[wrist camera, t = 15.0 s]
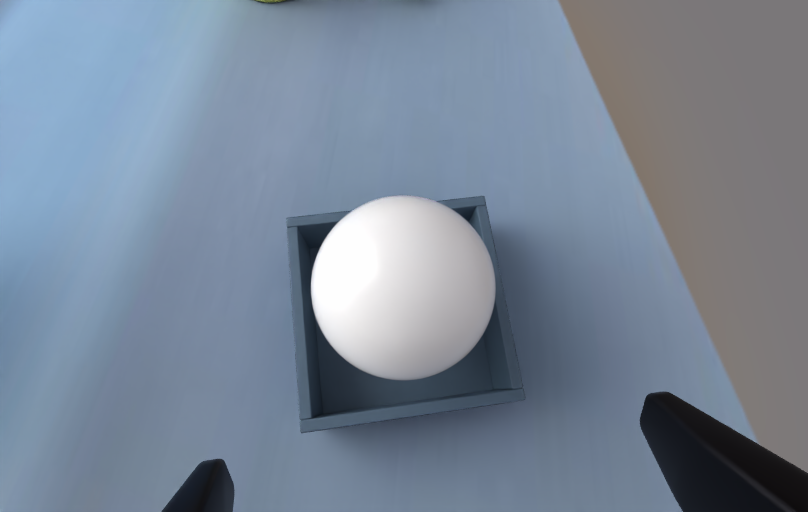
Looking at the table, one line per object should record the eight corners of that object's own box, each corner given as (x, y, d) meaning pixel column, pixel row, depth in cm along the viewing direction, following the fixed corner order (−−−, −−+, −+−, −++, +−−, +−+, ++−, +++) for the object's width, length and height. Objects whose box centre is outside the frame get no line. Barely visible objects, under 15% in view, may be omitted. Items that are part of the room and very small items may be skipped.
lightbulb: (310, 321, 23) (246, 263, 12) (396, 238, 24) (404, 122, 14) (399, 411, 22) (411, 431, 11) (483, 318, 23) (563, 259, 13)
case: (502, 397, 23) (525, 399, 19) (315, 425, 22) (300, 433, 18) (469, 224, 25) (484, 195, 22) (301, 243, 25) (285, 217, 21)
